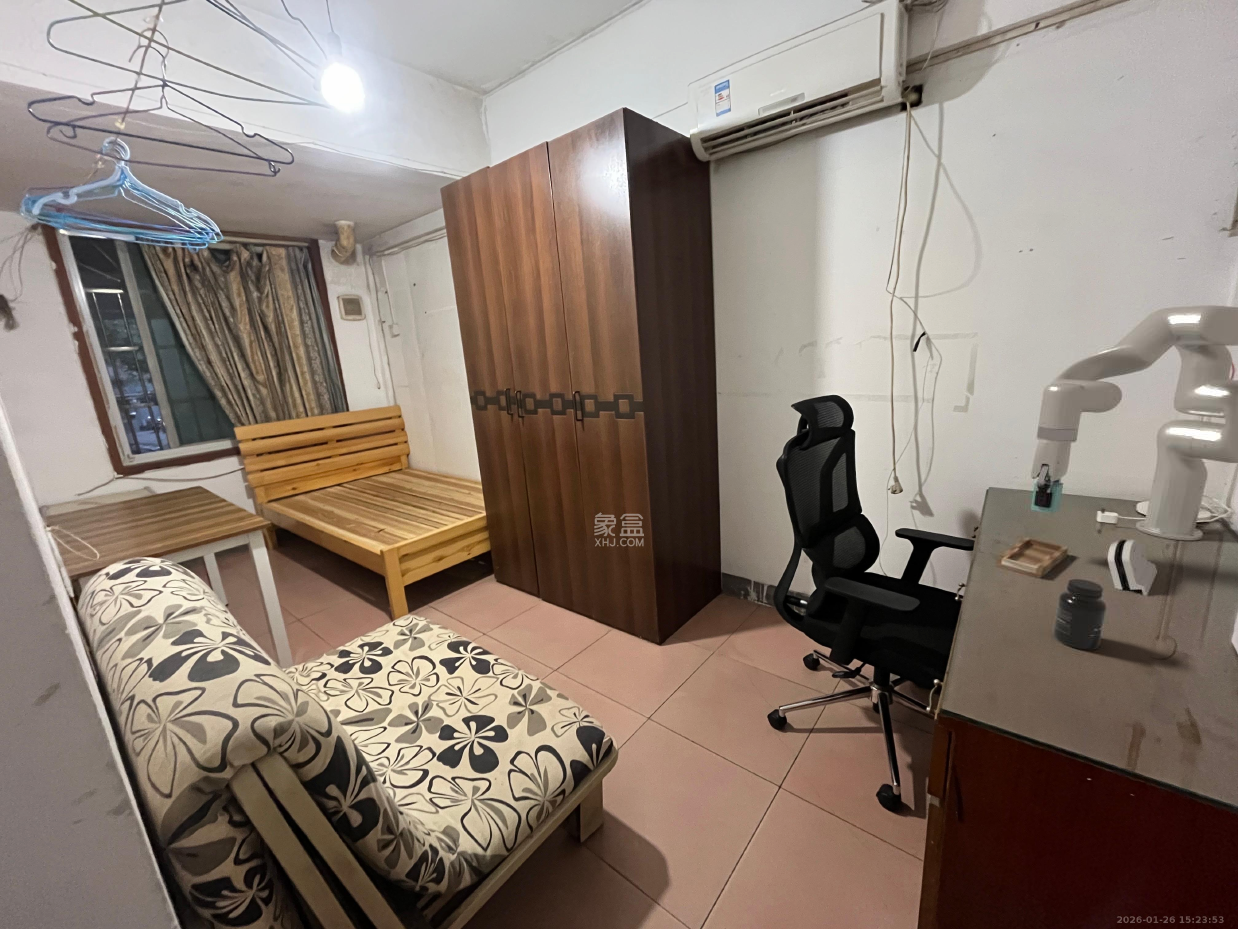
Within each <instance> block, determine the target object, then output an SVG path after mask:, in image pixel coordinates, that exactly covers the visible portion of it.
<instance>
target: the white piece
mask: <svg viewBox="0 0 1238 929" xmlns="http://www.w3.org/2000/svg"><path fill="white" fill-rule="evenodd" d="M1109 546H1110V547H1109V549H1108V553H1107V563H1108V567H1109V571H1110V573H1111V578H1112V581H1113V586H1114V588H1115V589H1116V588H1118V589H1117V590H1124V588H1126V587H1127V589H1130V591H1131V590H1133V591H1134V590H1141V591H1142V592H1141V593H1142V595H1143V596H1145V595H1146V597H1147V596H1148V594H1149V592H1150V589H1151V587H1152V585H1153V583H1154V580H1155V577H1156V575H1157V573H1158V570H1157V567H1156V564H1155V563H1152V562H1150V561H1149V560H1148V558H1147V556H1146V553H1145V551H1144V547H1143V544H1142V542H1141V540H1140V539H1134V538H1128V539H1124V538H1121V539H1117V540H1113V541H1112V542H1111V544H1110V545H1109Z"/></svg>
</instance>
